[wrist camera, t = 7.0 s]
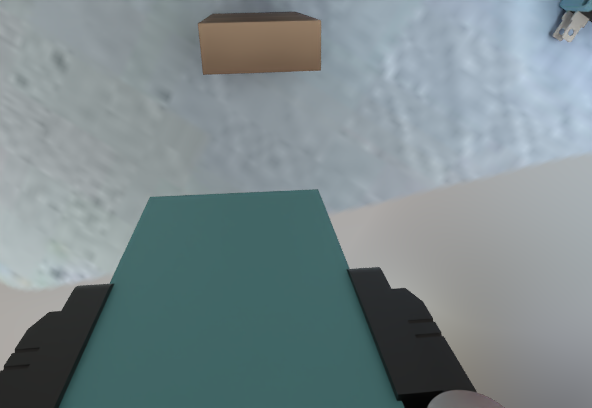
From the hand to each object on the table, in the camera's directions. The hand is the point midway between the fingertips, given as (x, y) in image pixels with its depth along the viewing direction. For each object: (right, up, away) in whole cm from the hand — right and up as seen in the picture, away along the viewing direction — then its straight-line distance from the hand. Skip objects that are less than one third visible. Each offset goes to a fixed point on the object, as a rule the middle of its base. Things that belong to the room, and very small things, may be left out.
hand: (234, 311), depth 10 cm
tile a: (-1, +13, +18) cm, 22 cm away
